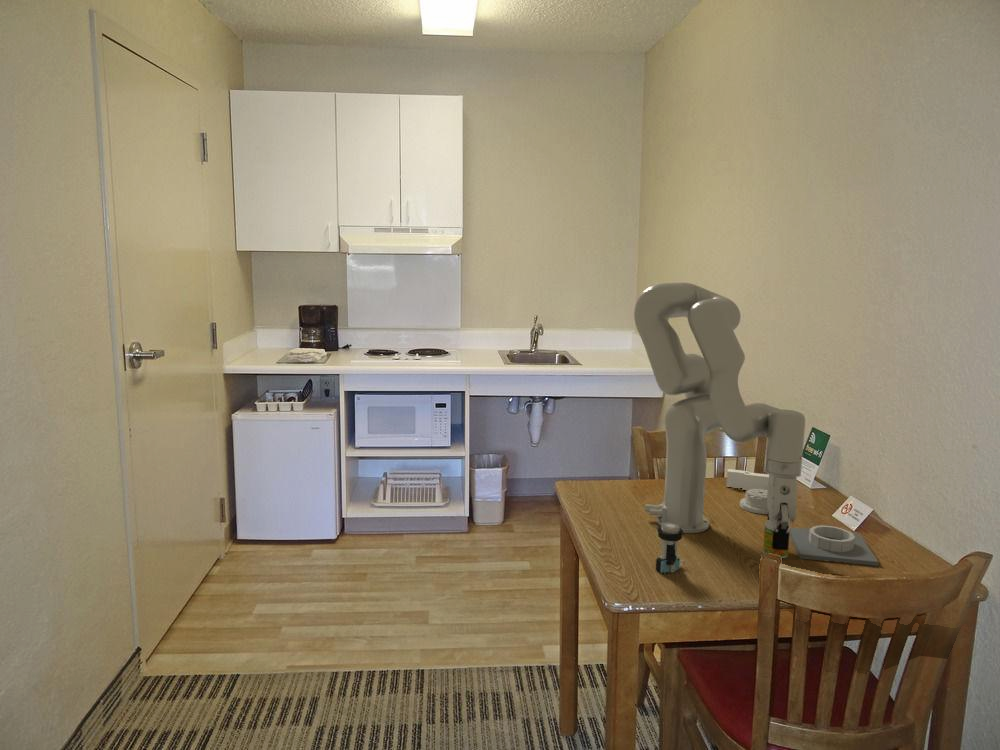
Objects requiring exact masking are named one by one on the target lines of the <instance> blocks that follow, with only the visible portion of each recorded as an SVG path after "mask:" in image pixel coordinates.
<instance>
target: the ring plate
mask: <svg viewBox="0 0 1000 750" xmlns="http://www.w3.org/2000/svg"><path fill="white" fill-rule="evenodd" d="M790 540H791V541H792V544H793V545H794V548H795V551H796V553H797V555H798V558H799V559H803V560H811V559H812V561H821V560H828V561H827V562H831V561H837V562H836V563H841V562H843V563H844V564H851V565H852V564H853V565H861V566H862V565H863V566H871V567H872V566H874V567H879V560H878V559H877V557H876V556H875V554H874V553H873V551H872V550H871V547H869V545H868V544H867V542H866V541H865V539H864V538H863V537H862V535H861V533H857V532H856V533H854V532H851V531H848V530H846V529H844V528H841V527H838V526H834V525H825V524H824V525H814V526H812V527H810V528H801V527H791V526H790ZM843 563H842V564H843Z"/></svg>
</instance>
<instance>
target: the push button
mask: <svg viewBox="0 0 1000 750" xmlns="http://www.w3.org/2000/svg"><path fill="white" fill-rule="evenodd" d="M656 530H657V532H658V535H657V537H658V538H660V539H661V551H660V552H661V553H660V557H657V558H656V560H655V570H656V571H658V572H659V573H661V574H662V573H664V574H666V573H665V572H668V573H675V572H676V571H679V570H680V567H681V566H684V564H683V563H681V562H684V559H682V558H680V557H678V542H679V541H680V540H682V538H683V535H684V533H683V530H682V529H681V528H679V525H677V524H675V523H669V522H668V523H663V524H662V526H660V525H659V527H657V529H656ZM678 569H679V570H678ZM675 570H676V571H675ZM670 571H671V572H670Z"/></svg>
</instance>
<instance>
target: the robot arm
mask: <svg viewBox="0 0 1000 750" xmlns="http://www.w3.org/2000/svg"><path fill="white" fill-rule="evenodd" d="M633 316H634V317H633V319H634V324H635V327H636V329H637V333H638V334H639V337H640V339H641V341H642V343H643V346H644V348H645V351H646V355H647V358H648V361H649V363H650V366H651V369H652V373H653V375H654V378H655V381H656V384H657V386H658V388H659V390H660V391H661V392H662V393H663V394H664V395H667V396H680V395H683V394H684V396H685V398H683V399H680V400H677V401H676V402H674V403H672V404H670V406H669V408H668V409H667V410H666V412H665V416H664V430H665V439H666V440H665V441H666V456H665V475H664V477H665V478H664V491H663V492H664V493H663V497H664V498H663V500H662V503H660V504H659V503H658V504H657V505H656V504H652V503H651V504H650V503H645V505H644V507H645V508H644V512H645V513H646V512H647V513H649V515H650V516H656V524H658V525H659V527H660V526H662V524H663V523H668V522H669V523H675V524H677V525H679V528H681V529H682V530H683V534H698V533H703V532H705V531H706V530H707V531H708V529H709V527H710V522H709V519H707V518H706V516H704V505H705V489H706V477H707V476H706V475H707V474H706V473H707V457H708V456H707V448H706V447H707V446H706V444H705V439H704V436H705V435H707V434H710V433H711V434H712V432H716V431H717V430H720V429H721V430H722V431H723V432H724V434H725V435H726V436H727V437H728V438H729V439H730V440H731V441H732V440H733V441H734V442H737V443H745V442H750V441H751V440H754V439H757V438H762V437H766V443H765V445H766V446H765V457H764V458H765V459H764V467H763V468H764V473H765V474H767V475H769V480H768V492H767V507H768V510H769V512H768V514H767V520H769V513H770V515H771V517H772V519H774V520H775V531H773V541H772V548H773V549H778V550H788V542H789V543H790V540H789V524H790V521H791V522H792V523H793V522H795V521H796V519H797V516H796V515H797V499H798V497H797V494H798V492H797V491H798V488H797V487H798V486H797V482H798V481H797V480H798V479H797V478H799V477H800V476H801V473H802V465H803V464H802V463H803V453H804V452H803V451H804V440H805V431H806V430H805V429H806V428H805V427H806V418H805V416H804V414H803V413H802V412H799V411H798V410H794V409H793V410H792V409H781V408H778V407H775V406H772V405H769V404H765V403H761V402H755V403H751V404H748V405H746V404H745V402H744V400H743V397H742V395H741V392H740V388H739V374H740V371H741V369H742V367H743V365H744V362H745V360H746V356H745V352H744V351H743V348H742V346H741V344H740V342H739V340H738V337H737V336H736V333H735V331H734V330H736V329H737V327H738V326H739V325H740V322H741V317H742V315H741V311H740V309H739V307H738V305H737V304H736V303H735V302H734V301H733V300H731V299H730V298H728V297H726V296H724V295H721V294H718V293H716V292H713V291H712V290H708V289H705V288H704V287H702V286H699V285H696V284H694V283H692V282H691V283H690V282H665V283H657V284H654V285H651V286H648V287H647V288H645V289H644V290H643V291H642V292H641V294H640V295H639V297H638V298H637V299H636V302H635V305H634V310H633ZM682 317H683V318H687V322H688V326H689V328H690V330H691V333H692V335H693V337H694V339H695V342H696V343H697V346H698V348H699V350H700V353H701V355H702V356H701V355H699V354H695V353H685V350H684V348H683V346H682V342H681V340H680V337H679V335H678V333H677V332H676V330H675V328H673V326H672V325H671V324H670V323H669V319H672V318H673V319H674V318H682ZM777 516H781V518H777ZM767 520H766V521H767ZM778 522H781V523H779V525H778Z"/></svg>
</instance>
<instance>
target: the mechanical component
mask: <svg viewBox="0 0 1000 750" xmlns="http://www.w3.org/2000/svg"><path fill="white" fill-rule="evenodd" d="M767 492H768V490H762V489H751V490H747V491H745V496H744V497H742V498H741V499H740V501H739V507H741V508H742V509H743V510H744V511H747V512H750V513H753V514H759V515H760V514H761V515H768V512H769V510H768V507H767Z"/></svg>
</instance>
